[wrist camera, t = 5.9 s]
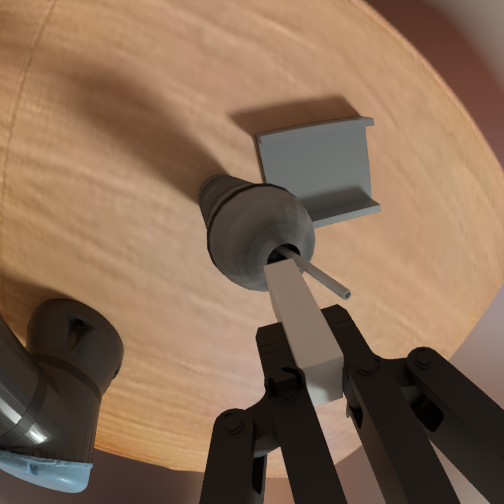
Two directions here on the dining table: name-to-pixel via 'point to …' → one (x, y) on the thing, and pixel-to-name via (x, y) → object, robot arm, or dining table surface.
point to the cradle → (322, 167)
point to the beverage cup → (257, 231)
